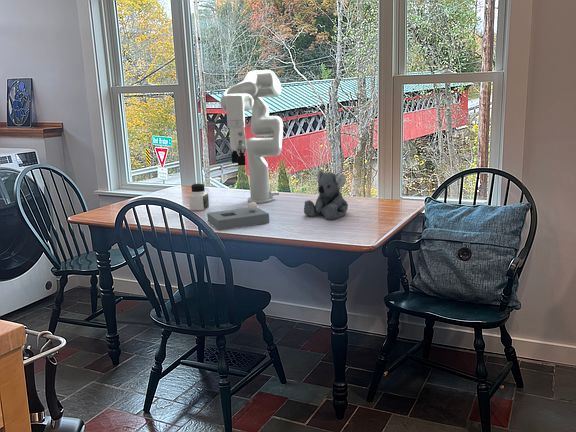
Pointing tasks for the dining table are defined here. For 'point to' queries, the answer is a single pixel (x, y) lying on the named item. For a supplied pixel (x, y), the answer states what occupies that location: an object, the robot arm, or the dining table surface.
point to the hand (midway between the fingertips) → (238, 164)
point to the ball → (252, 206)
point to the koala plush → (328, 197)
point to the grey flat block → (237, 218)
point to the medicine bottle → (198, 197)
